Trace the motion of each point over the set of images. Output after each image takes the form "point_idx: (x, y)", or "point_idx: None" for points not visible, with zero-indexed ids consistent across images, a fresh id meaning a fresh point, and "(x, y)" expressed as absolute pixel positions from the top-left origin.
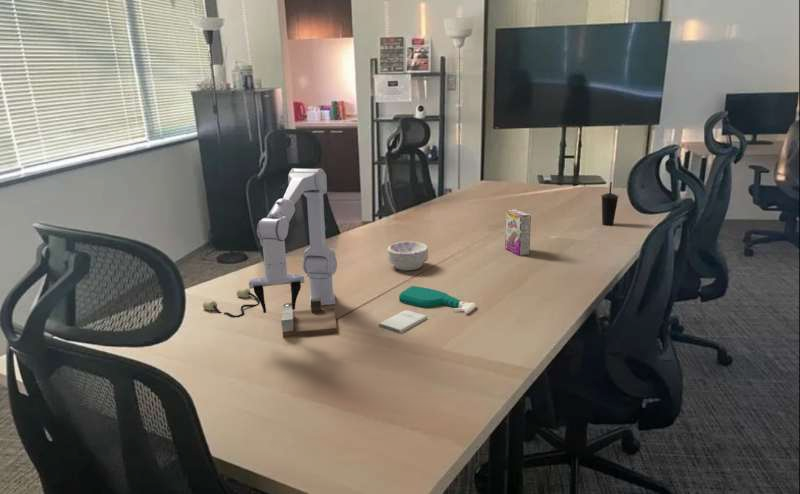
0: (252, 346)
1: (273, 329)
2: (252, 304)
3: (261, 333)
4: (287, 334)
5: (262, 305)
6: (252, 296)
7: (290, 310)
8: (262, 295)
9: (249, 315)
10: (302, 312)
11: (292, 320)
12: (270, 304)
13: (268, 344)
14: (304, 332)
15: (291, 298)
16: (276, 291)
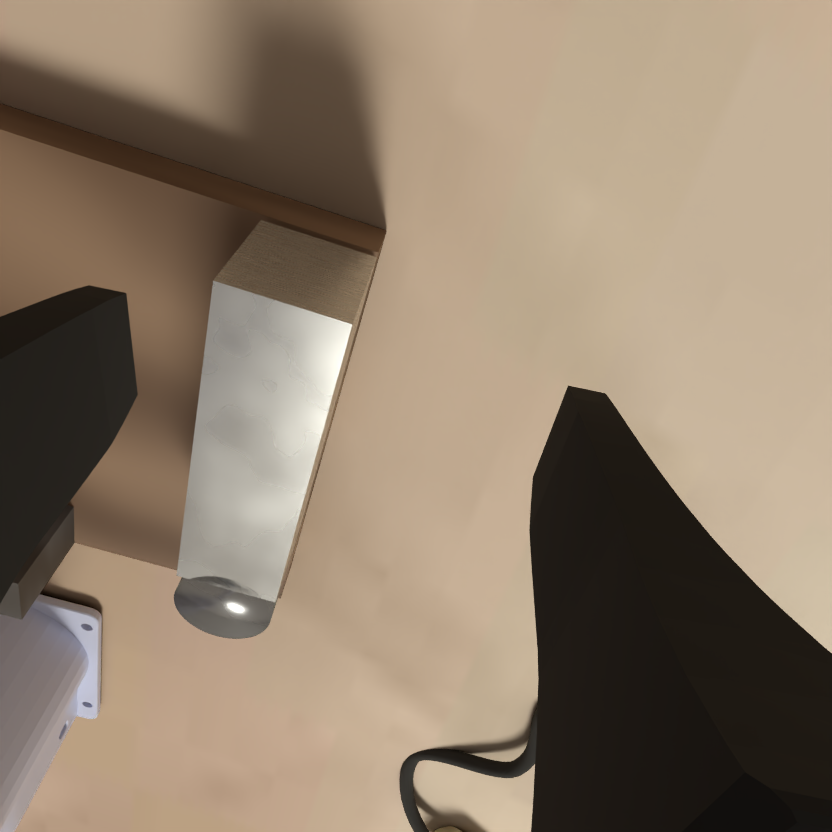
0: (725, 198)
1: (423, 431)
2: (452, 764)
3: (537, 413)
4: (335, 227)
5: (656, 477)
6: (424, 823)
7: (213, 502)
8: (723, 664)
9: (511, 679)
10: (146, 534)
11: (219, 273)
12: (348, 728)
13: (565, 155)
14: (155, 170)
15: (60, 506)
16: (285, 813)
